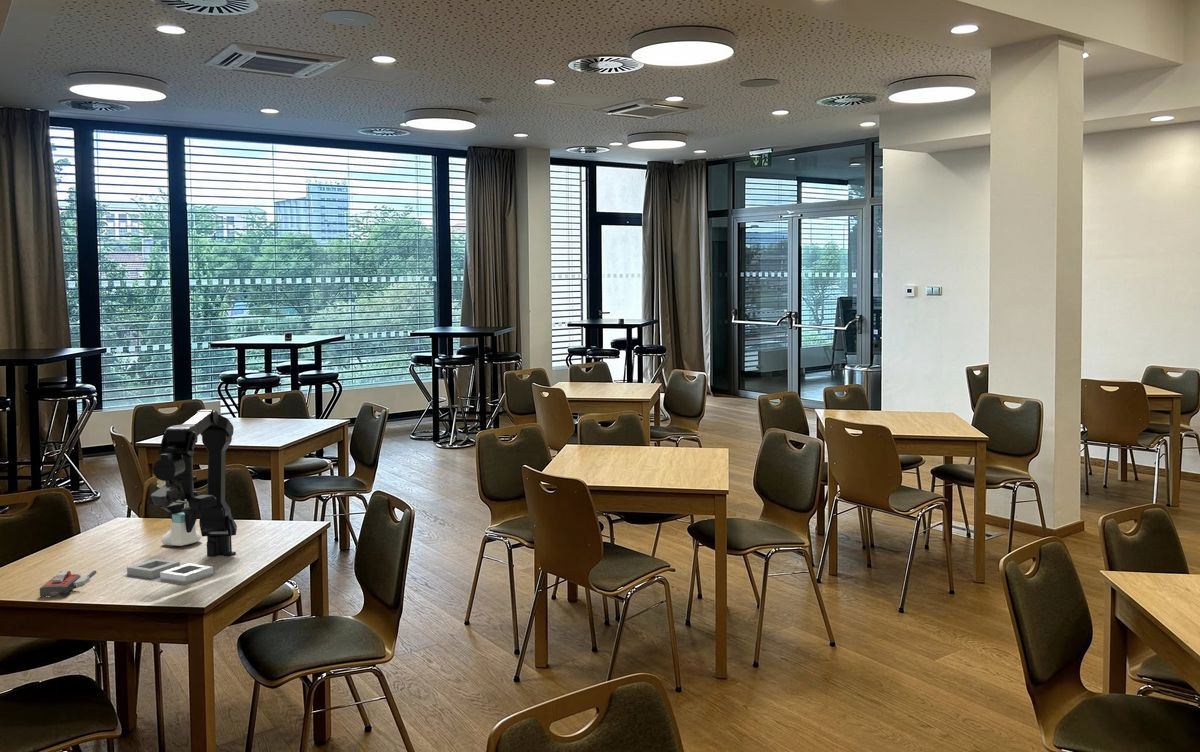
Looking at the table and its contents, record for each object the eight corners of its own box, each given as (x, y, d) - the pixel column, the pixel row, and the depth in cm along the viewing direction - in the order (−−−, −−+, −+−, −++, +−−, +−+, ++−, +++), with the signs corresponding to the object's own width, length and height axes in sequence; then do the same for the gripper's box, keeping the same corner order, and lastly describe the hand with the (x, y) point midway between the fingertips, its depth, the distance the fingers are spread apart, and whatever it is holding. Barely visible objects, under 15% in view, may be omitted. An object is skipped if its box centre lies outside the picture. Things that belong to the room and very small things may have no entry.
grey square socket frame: (127, 574, 264) (126, 567, 264) (155, 565, 273) (155, 558, 272) (151, 578, 260) (151, 571, 260) (179, 569, 269) (179, 562, 269)
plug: (171, 544, 260) (170, 514, 259) (186, 540, 264) (185, 510, 263) (181, 545, 258) (180, 515, 257) (196, 541, 263) (195, 512, 262)
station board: (122, 578, 263) (121, 575, 263) (158, 567, 274) (157, 564, 274) (183, 588, 254) (183, 585, 254) (218, 575, 265) (218, 572, 265)
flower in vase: (183, 537, 307) (180, 459, 305) (209, 541, 302) (207, 461, 300) (148, 547, 295) (144, 465, 293) (175, 551, 290) (172, 468, 288)
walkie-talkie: (74, 598, 247) (99, 576, 267) (73, 581, 247) (98, 560, 266) (36, 600, 246) (64, 578, 265) (35, 583, 245) (63, 562, 265)
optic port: (160, 579, 259) (159, 572, 259) (188, 570, 268) (187, 563, 268) (185, 583, 256) (185, 575, 256) (213, 573, 264) (213, 566, 264)
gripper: (130, 476, 256) (133, 535, 257) (183, 481, 249) (185, 542, 250) (165, 469, 266) (167, 526, 267) (216, 474, 259) (218, 532, 260)
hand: (183, 531), depth 261 cm, fingers closed on plug, 3 cm apart
